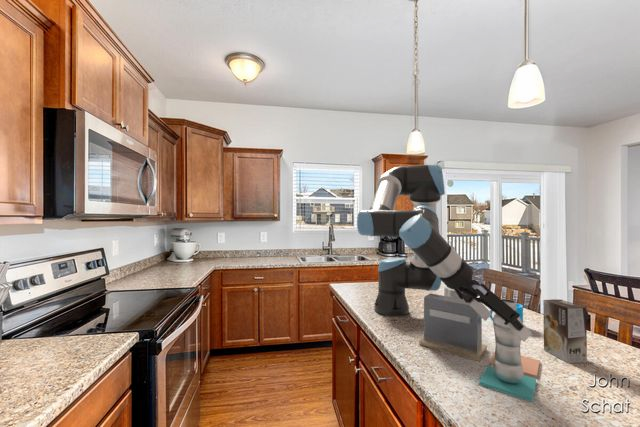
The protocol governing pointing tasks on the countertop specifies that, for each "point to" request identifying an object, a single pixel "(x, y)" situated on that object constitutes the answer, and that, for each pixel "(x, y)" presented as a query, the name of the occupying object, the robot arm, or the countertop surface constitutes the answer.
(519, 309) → the mug
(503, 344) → the plastic bottle
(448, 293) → the lumpy-topped squat cylinder
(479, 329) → the box
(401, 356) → the countertop surface
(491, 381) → the teal pad
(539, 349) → the countertop surface
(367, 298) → the countertop surface
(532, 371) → the terracotta pad
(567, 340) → the coffee box
